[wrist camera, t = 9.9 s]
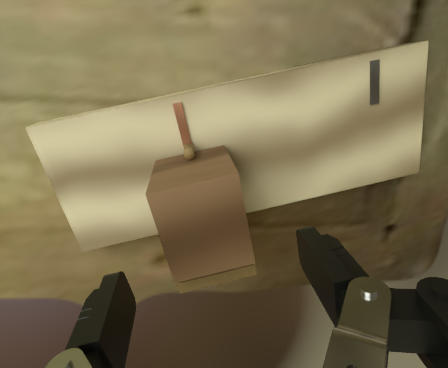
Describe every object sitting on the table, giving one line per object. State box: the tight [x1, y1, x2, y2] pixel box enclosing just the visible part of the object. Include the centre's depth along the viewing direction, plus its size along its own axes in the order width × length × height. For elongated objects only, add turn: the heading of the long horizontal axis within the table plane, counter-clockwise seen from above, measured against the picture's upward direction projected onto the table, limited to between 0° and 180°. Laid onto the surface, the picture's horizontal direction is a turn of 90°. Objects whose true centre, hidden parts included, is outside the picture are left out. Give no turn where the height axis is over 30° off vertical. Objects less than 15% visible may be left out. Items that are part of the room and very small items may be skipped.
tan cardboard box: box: [145, 144, 257, 294], centre depth 20 cm, size 8×5×7 cm, turn 11°
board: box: [25, 41, 429, 252], centre depth 23 cm, size 10×28×2 cm, turn 101°
